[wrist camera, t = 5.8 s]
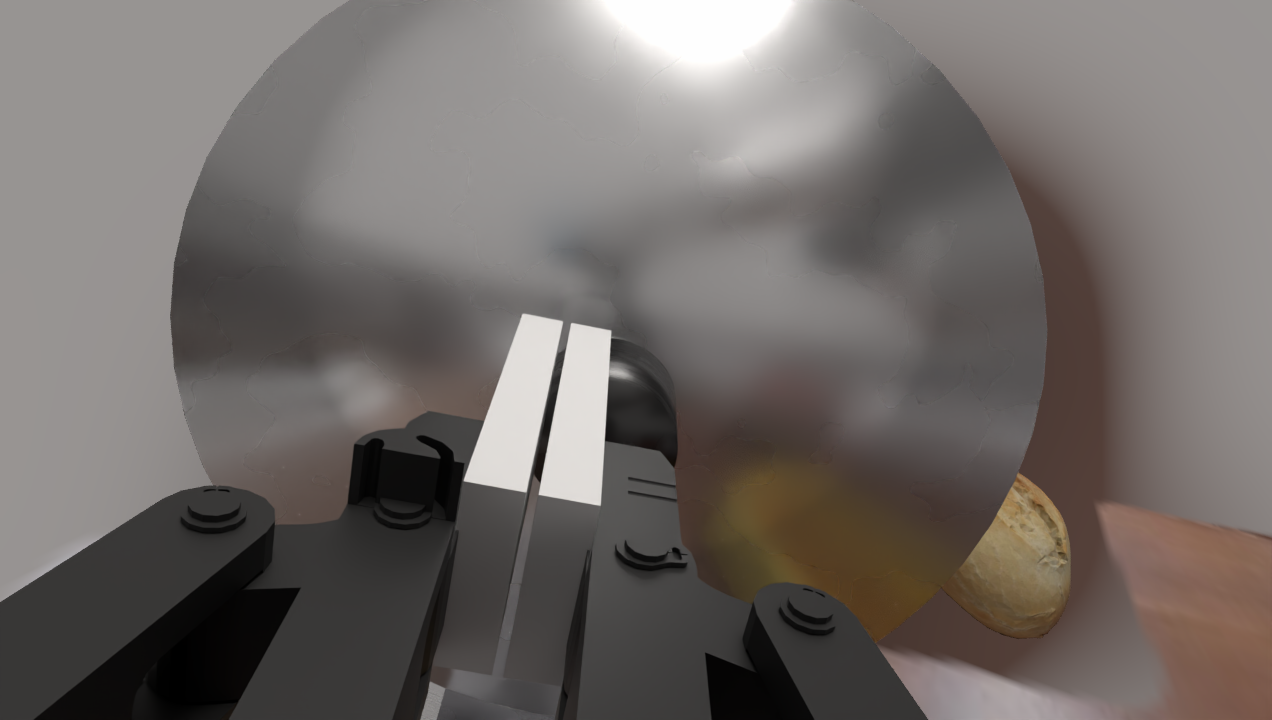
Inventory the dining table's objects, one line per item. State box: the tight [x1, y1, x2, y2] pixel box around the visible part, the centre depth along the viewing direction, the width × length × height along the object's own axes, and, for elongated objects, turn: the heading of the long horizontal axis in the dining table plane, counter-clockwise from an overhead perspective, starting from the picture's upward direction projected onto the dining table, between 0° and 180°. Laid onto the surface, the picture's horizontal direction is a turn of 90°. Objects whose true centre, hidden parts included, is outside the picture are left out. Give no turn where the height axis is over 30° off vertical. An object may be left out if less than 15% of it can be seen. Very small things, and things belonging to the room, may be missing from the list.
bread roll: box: [941, 473, 1071, 639], centre depth 59 cm, size 10×15×8 cm, turn 31°
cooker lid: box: [170, 0, 1047, 715], centre depth 20 cm, size 19×19×4 cm
